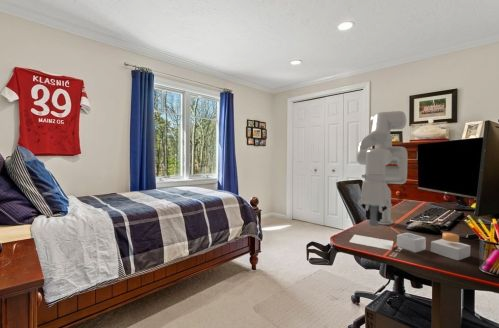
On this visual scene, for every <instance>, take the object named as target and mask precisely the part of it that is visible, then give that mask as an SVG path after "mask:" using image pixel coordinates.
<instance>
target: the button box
mask: <svg viewBox="0 0 499 328" xmlns="http://www.w3.org/2000/svg"><path fill="white" fill-rule="evenodd" d="M471 246H472V245H469V244H467V243H462V242H460V241H459V242H450V241H446V240H444V239H442V238H440V239H437V240H431V241H430V253H431V252H432V253H434V254H437V255H439V256H443V257H445V258H448V259H451V260H455V261H460V260H463V259H466V258H468V257H471Z"/></svg>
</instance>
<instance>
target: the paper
mask: <svg viewBox="0 0 499 328" xmlns="http://www.w3.org/2000/svg"><path fill="white" fill-rule="evenodd" d="M348 242H349V243H352V244H357V245H363V246H367V247H374V248H378V249H383V250H390V251H392V250H393V245H394V241H393V240H389V239H381V238H378V237H370V236H365V235H359V234H353V236H352V237H351V238H350V240H349V241H348Z"/></svg>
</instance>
